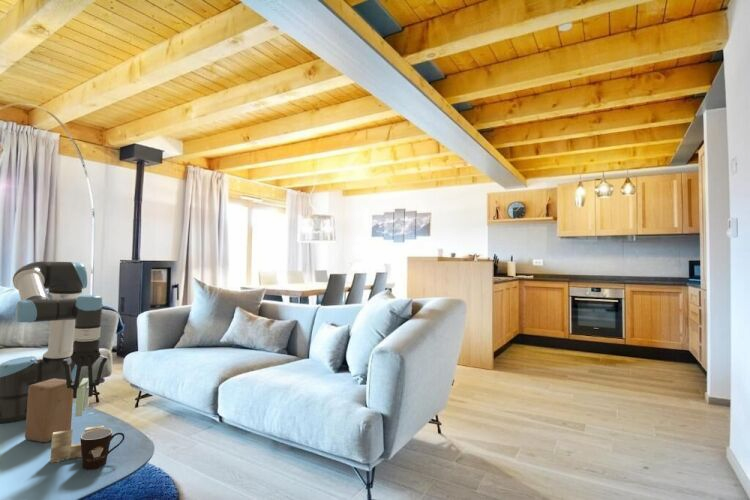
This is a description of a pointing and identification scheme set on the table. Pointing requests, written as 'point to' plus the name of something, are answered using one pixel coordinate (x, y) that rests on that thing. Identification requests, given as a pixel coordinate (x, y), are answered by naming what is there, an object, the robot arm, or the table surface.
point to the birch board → (66, 445)
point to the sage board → (81, 397)
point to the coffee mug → (96, 447)
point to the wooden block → (48, 409)
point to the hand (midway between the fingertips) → (82, 406)
